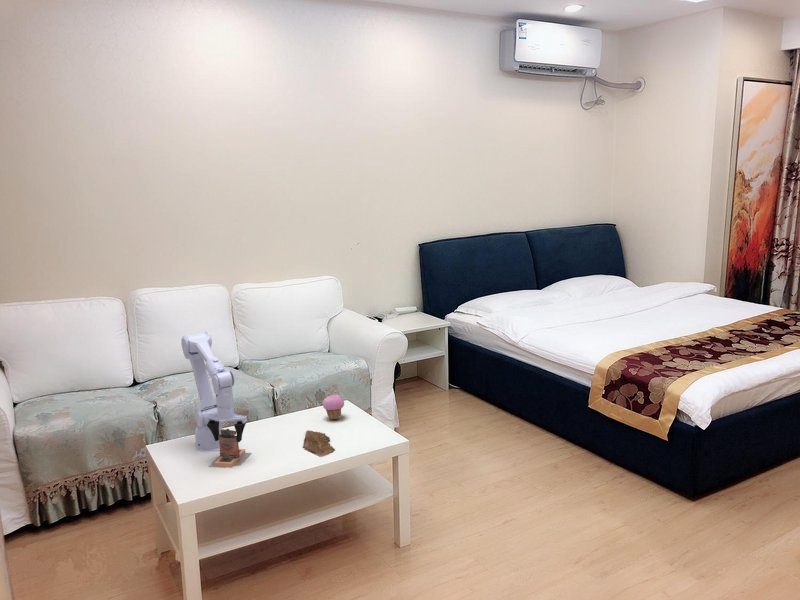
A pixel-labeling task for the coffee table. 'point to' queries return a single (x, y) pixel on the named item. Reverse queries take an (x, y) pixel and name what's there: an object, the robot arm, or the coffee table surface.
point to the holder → (230, 460)
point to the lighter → (228, 444)
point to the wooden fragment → (317, 443)
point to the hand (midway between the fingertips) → (228, 440)
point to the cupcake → (333, 406)
